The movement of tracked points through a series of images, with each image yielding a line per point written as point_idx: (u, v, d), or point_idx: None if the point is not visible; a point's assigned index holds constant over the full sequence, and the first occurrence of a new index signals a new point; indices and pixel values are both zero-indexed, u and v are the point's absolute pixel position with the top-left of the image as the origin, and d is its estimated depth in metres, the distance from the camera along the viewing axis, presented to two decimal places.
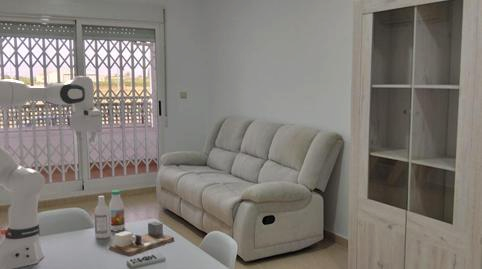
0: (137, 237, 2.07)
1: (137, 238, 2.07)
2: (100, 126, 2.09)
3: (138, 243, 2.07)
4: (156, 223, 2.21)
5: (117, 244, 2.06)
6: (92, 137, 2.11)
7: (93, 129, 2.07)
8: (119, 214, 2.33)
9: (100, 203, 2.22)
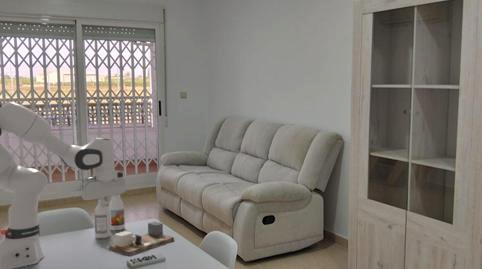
0: (137, 237, 2.07)
1: (137, 238, 2.07)
2: None
3: (138, 243, 2.07)
4: (156, 223, 2.21)
5: (117, 244, 2.06)
6: None
7: (124, 190, 2.04)
8: (119, 214, 2.33)
9: (100, 203, 2.22)
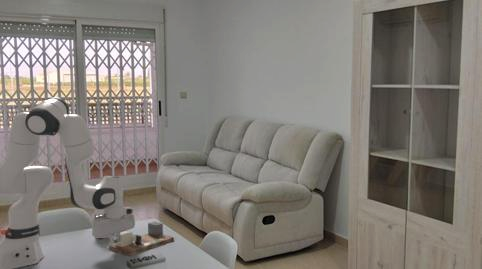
0: (137, 237, 2.07)
1: (137, 238, 2.07)
2: None
3: (138, 243, 2.07)
4: (156, 223, 2.21)
5: (117, 244, 2.06)
6: None
7: (133, 225, 2.08)
8: None
9: None
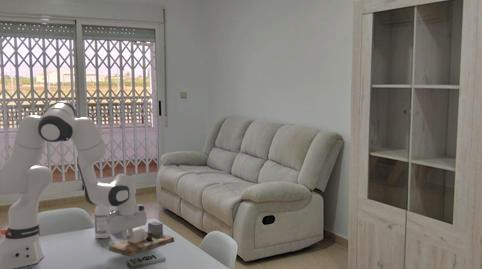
0: (148, 234, 2.12)
1: (148, 235, 2.12)
2: None
3: (149, 239, 2.11)
4: (156, 223, 2.21)
5: (129, 240, 2.11)
6: None
7: (145, 222, 2.14)
8: None
9: None
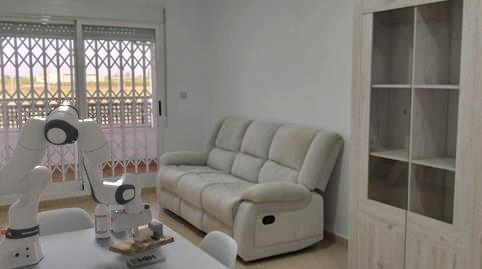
0: (153, 232, 2.14)
1: (153, 233, 2.14)
2: None
3: (154, 238, 2.14)
4: (156, 223, 2.21)
5: (135, 238, 2.13)
6: None
7: (150, 220, 2.16)
8: None
9: None
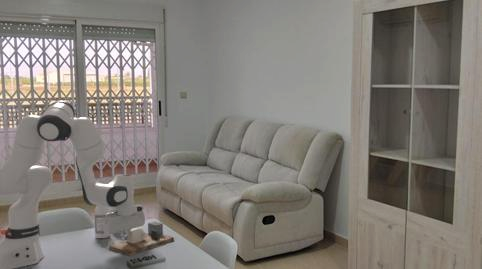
0: (153, 232, 2.14)
1: (153, 233, 2.14)
2: None
3: (154, 238, 2.14)
4: (156, 223, 2.21)
5: (128, 240, 2.10)
6: None
7: (143, 223, 2.13)
8: None
9: None
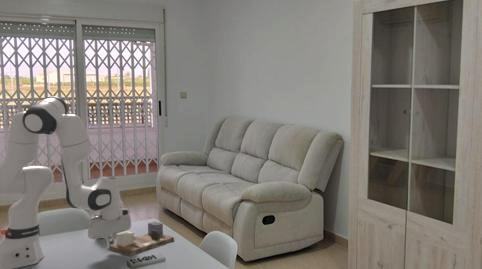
0: (153, 232, 2.14)
1: (153, 233, 2.14)
2: None
3: (154, 238, 2.14)
4: (156, 223, 2.21)
5: (118, 244, 2.06)
6: None
7: (129, 226, 2.07)
8: None
9: None
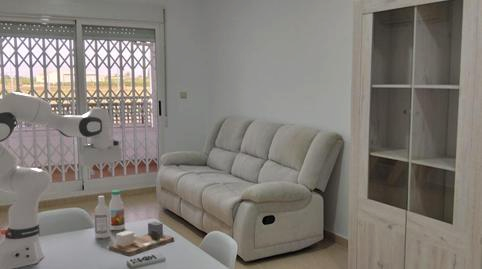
0: (153, 232, 2.14)
1: (153, 233, 2.14)
2: None
3: (154, 238, 2.14)
4: (156, 223, 2.21)
5: (118, 244, 2.06)
6: None
7: (120, 158, 2.16)
8: (119, 214, 2.33)
9: (100, 203, 2.22)
